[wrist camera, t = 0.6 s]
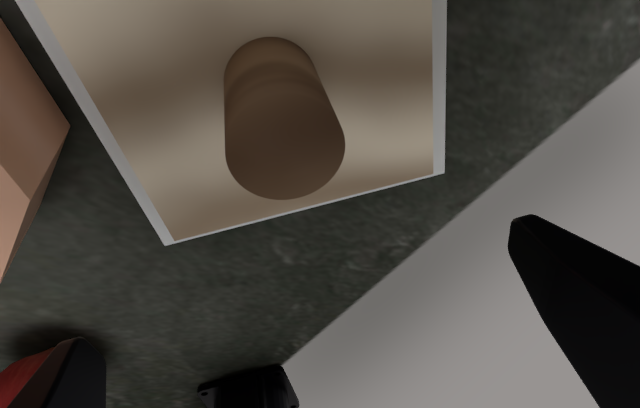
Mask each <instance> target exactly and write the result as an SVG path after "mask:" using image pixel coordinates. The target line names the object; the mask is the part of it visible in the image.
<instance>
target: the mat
mask: <svg viewBox="0 0 640 408" xmlns="http://www.w3.org/2000/svg"><path fill="white" fill-rule="evenodd" d="M15 1H16V3H17V5H18V6H19V8H20V10H21V11H22V13H23V14H24V16H25V18H26V19H27V21H28V23H29V24H30V26H31V28H32V29H33V31H34V32H35V34H36V36H37V37H38V39H39V41H40V42H41V44H42V46H43V47H44V49H45V50H46V52H47V54H48V55H49V57H50V59H51V60H52V62H53V64H54V65H55V67H56V69H57V70H58V72H59V73H60V75H61V77H62V78H63V80H64V82H65V83H66V85H67V87H68V88H69V90H70V91H71V93H72V95H73V96H74V98H75V100H76V101H77V103H78V105H79V106H80V108H81V109H82V111H83V113H84V114H85V116H86V118H87V119H88V121H89V123H90V124H91V126H92V127H93V129H94V131H95V132H96V134H97V136H98V137H99V139H100V141H101V142H102V144H103V146H104V147H105V149H106V150H107V152H108V154H109V155H110V157H111V159H112V160H113V162H114V164H115V165H116V167H117V168H118V170H119V172H120V173H121V175H122V177H123V178H124V180H125V182H126V183H127V185H128V186H129V188H130V190H131V191H132V193H133V195H134V196H135V198H136V200H137V201H138V203H139V204H140V206H141V208H142V209H143V211H144V213H145V214H146V216H147V218H148V219H149V221H150V223H151V224H152V226H153V227H154V229H155V231H156V232H157V234H158V236H159V237H160V239H161V241H162V242H163V244H164V245H165V246H167V245H171V244H174V243H178V242H182V241H186V240H190V239H194V238H198V237H201V236H205V235H209V234H213V233H217V232H221V231H224V230H228V229H232V228H236V227H240V226H244V225H247V224H251V223H255V222H259V221H263V220H267V219H270V218H274V217H278V216H282V215H286V214H290V213H294V212H297V211H301V210H305V209H309V208H313V207H317V206H320V205H324V204H328V203H332V202H336V201H340V200H343V199H347V198H351V197H355V196H359V195H363V194H367V193H370V192H374V191H378V190H382V189H386V188H390V187H393V186H397V185H401V184H405V183H409V182H413V181H416V180H420V179H424V178H428V177H432V176H436V175H439V174H443V173H445V109H446V34H447V0H432V65H433V174H431V175H427V176H423V177H419V178H415V179H412V180H408V181H404V182H400V183H396V184H392V185H389V186H385V187H381V188H377V189H373V190H369V191H365V192H362V193H358V194H354V195H350V196H346V197H342V198H339V199H335V200H331V201H327V202H323V203H319V204H315V205H312V206H308V207H304V208H300V209H296V210H292V211H289V212H285V213H281V214H277V215H273V216H269V217H266V218H262V219H258V220H254V221H250V222H246V223H242V224H239V225H235V226H231V227H227V228H223V229H219V230H216V231H212V232H208V233H204V234H200V235H196V236H193V237H189V238H185V239H181V240H177V241H174V239H173V238H172V236H171V234H170V233H169V231H168V229H167V227H166V226H165V224H164V222H163V221H162V219H161V217H160V215H159V214H158V212H157V210H156V209H155V207H154V205H153V203H152V202H151V200H150V198H149V197H148V195H147V193H146V191H145V190H144V188H143V186H142V185H141V183H140V181H139V179H138V178H137V176H136V174H135V173H134V171H133V169H132V167H131V166H130V164H129V162H128V161H127V159H126V157H125V155H124V154H123V152H122V150H121V148H120V147H119V145H118V143H117V142H116V140H115V138H114V136H113V135H112V133H111V131H110V130H109V128H108V126H107V124H106V123H105V121H104V119H103V118H102V116H101V114H100V112H99V111H98V109H97V107H96V106H95V104H94V102H93V100H92V99H91V97H90V95H89V94H88V92H87V90H86V88H85V87H84V85H83V83H82V82H81V80H80V78H79V76H78V75H77V73H76V71H75V70H74V68H73V66H72V64H71V63H70V61H69V59H68V57H67V56H66V54H65V52H64V51H63V49H62V47H61V45H60V44H59V42H58V40H57V39H56V37H55V35H54V33H53V32H52V30H51V28H50V27H49V25H48V23H47V21H46V20H45V18H44V16H43V15H42V13H41V11H40V9H39V8H38V6H37V4H36V3H35V1H34V0H15Z"/></svg>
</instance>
